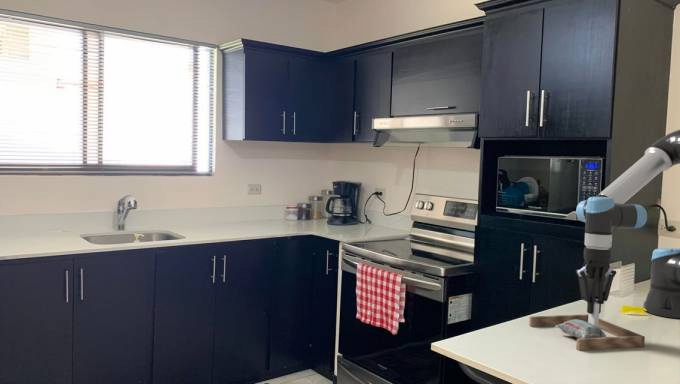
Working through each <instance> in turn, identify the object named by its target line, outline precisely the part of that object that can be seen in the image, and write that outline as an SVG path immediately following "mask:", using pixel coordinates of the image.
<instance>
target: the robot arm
mask: <svg viewBox="0 0 680 384" xmlns="http://www.w3.org/2000/svg"><path fill="white" fill-rule="evenodd" d="M679 164H680V129H677V130H674V131H672V132H670V133H668V134H666V135H664V136H663V137H661V138H659V139H658V140H657V141H655V142H654V143H653V144H651V145H650V146H649V147H648V148H647V149H645V151H644V154H643V156H642V157H641V158H640V159H638V160H637V161H636V162H635V163H633V165H631V166H630V167H629V168H628V169H626V170H625V171H624V172H623V173H622V174H621V175H620V176H618V177H617V178H616V179H615V180H614V181H612V183H610V184H609V185H608V186H607V187H606V188H604V189H603V190H602V191H601V192H599V193H598V194H596V196H590V197H589V198H588V199H586V200H582V201H580V202H578V204H577V206H576V210H575V214H576V217H577V218H578V219H579V221H581V222H582V223H585V227H584V246H585V247H584V248H583V259H584V262H583V265H582V267H581V268H580V269H576V270H575V273H576V275H577V277H578V282H579V283H578V284H579V290H580V296H581V300H582V301H585V302H587V304H586V305H587V306H586V314H589V315H588V323H591V324H593V325H598V321H599V319H600V318H599V317H600V314H601V312H602V311H601V310H602V305H604V304H605V302H607V301H608V300H609V295H610V292H611V287H612V284H613V282H614V278H615V276H616V274H617V271H616V270H613V269H612V268H611V265H610V261H612V260H611V259H612V250H611V248H612V244H613V243H612V242H613V229H631V230H633V229H640V228H642V227H643V226H645V224H646V223H647V220H648V213H647V210H646V209H645V207H643V205H640V204H636V203H635V204H634V203H627V201H629V200H630V199H631V198H633V196H634V195H635V194H637V193H638V192H639V191H641V189H642V188H643V187H645V186H647V184H649V182H651V181H652V180H653V179H654V178H655V177H657V175H659V174H660V173H661V172H663V171H668V170H669V169H671V168H672V167H673V166H676V165H679ZM650 262H651V263H650V285H649V290H648V293H647V295H646V299H645V301H643V308H645V309H646V310H647V311H648V312H649V313H648V312H647V313H648V314H652V315H655V316H660V317H665V318H672V319H680V248H671V247H670V248H666V247H665V248H655V249H654V250H653V251H652V256H651V259H650ZM643 308H642V309H643Z"/></svg>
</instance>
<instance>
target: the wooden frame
mask: <svg viewBox="0 0 680 384" xmlns="http://www.w3.org/2000/svg"><path fill="white" fill-rule="evenodd" d="M588 315H589V313H586V314H584V313H583V314H562V315H539V316H538V315H537V316H535V315H534V316H529V321H528V324H529V325H528V326H529V327H533V328H534V327H546V326H547V327H548V326H549V327H550V326H551V327H552V326H556V325H559V324H563V323H564V322H566V321H569V320H574V319H578V320H583V321H586V322H588ZM596 326H598V327H599V328H600V329H601V330H602V331H603V332H606V333H609V334H610V335H614V336H608V337H607V336H606V337H603V338H583V339H578V338H576V350H577V351H593V350H596V351H597V350H609V349H611V350H613V349H626V348H627V349H629V348H643V347H645V341H646V339H645V338H646V337H645V336H644V335H642V334H639V333H637V332H634V331H631V330H629V329H626V328H624V327H622V326H619V325H616V324H614V323H611V322H609V321H607V320H604V319H602V318H599V321H598V325H596Z"/></svg>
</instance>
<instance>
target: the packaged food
mask: <svg viewBox="0 0 680 384" xmlns="http://www.w3.org/2000/svg"><path fill="white" fill-rule="evenodd" d="M554 327H555V328H558V329H560V331H561V332H562V333H564V334H565V335H569V336H571V337H573V338H575V339H583V338H603V337H607V335H606V333H605V331H604V330H602V329H600V328H599V327H598V326H596V325H593V324H591V323H588V322H586V321H583V320H578V319H574V320H569V321H566V322H564V323H563V324H559V325H554Z"/></svg>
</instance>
